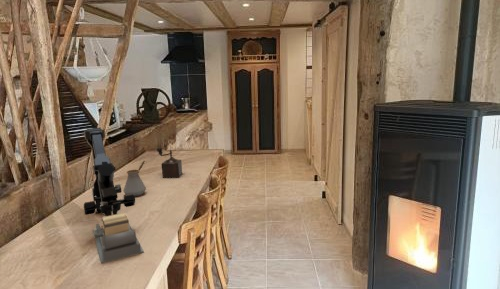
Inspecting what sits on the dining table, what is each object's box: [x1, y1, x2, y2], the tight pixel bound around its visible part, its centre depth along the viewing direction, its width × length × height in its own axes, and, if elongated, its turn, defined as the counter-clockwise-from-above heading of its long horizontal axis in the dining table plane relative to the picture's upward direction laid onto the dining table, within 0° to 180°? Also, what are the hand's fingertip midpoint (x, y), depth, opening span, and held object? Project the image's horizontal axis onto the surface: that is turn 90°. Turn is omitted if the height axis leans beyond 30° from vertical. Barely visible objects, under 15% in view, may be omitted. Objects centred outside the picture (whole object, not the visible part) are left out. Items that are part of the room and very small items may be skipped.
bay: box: [92, 223, 144, 264], centre depth 133 cm, size 29×15×10 cm, turn 29°
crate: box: [101, 212, 130, 236], centre depth 131 cm, size 7×8×10 cm
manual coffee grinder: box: [156, 146, 183, 179], centre depth 221 cm, size 16×11×18 cm
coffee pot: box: [123, 160, 148, 198], centre depth 193 cm, size 21×12×15 cm, turn 173°
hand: (113, 223), depth 136 cm, fingers closed
